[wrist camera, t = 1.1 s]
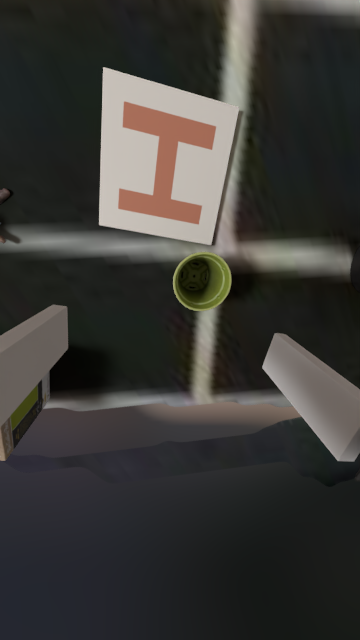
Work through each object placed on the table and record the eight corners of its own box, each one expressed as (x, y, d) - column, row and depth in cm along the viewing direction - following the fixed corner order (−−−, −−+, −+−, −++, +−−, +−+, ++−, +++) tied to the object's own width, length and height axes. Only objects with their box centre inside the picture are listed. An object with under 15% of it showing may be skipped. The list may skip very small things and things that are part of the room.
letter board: (237, 111, 32) (239, 107, 31) (210, 245, 38) (211, 245, 37) (105, 72, 29) (103, 66, 28) (100, 225, 35) (98, 224, 34)
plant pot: (171, 248, 38) (175, 249, 30) (220, 252, 39) (236, 254, 31) (168, 296, 41) (171, 309, 33) (213, 299, 42) (226, 312, 34)
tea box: (-4, 335, 40) (-88, 382, 27) (50, 341, 42) (-3, 389, 28) (3, 395, 45) (-65, 461, 32) (51, 399, 47) (6, 463, 33)
